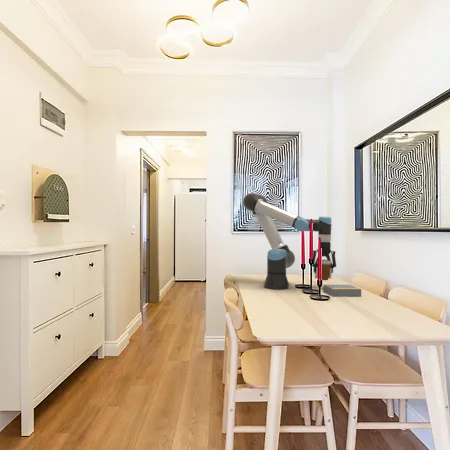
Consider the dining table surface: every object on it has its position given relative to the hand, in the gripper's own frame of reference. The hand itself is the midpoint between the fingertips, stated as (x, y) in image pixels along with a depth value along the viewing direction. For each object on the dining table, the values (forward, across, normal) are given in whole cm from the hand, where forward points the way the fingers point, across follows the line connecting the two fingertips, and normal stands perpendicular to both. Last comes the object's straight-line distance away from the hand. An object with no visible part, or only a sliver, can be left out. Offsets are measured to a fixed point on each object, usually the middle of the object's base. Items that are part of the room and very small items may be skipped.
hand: (322, 278), depth 203 cm
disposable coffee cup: (+1, 0, 0) cm, 1 cm away
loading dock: (+6, +5, -17) cm, 19 cm away
